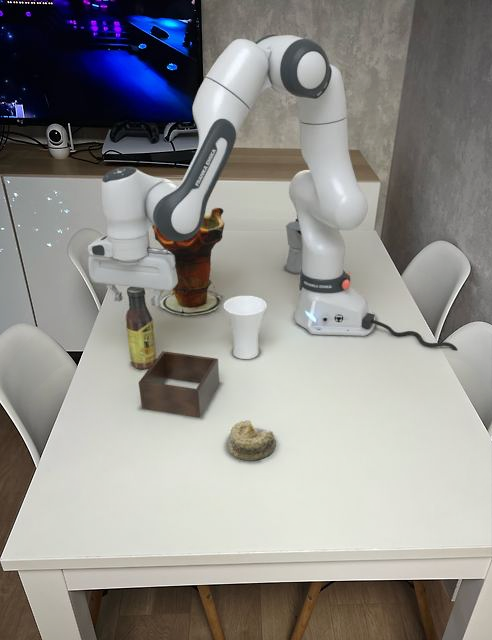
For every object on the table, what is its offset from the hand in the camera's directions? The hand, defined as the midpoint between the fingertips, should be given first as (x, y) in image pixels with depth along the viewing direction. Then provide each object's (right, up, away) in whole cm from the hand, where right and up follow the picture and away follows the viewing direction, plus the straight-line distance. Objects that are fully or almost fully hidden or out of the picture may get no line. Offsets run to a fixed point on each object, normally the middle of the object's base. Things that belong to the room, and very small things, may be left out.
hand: (137, 302), depth 142 cm
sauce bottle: (0, -14, +9) cm, 17 cm away
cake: (+27, -32, -17) cm, 45 cm away
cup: (+25, -11, +14) cm, 30 cm away
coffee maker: (+40, +19, +59) cm, 74 cm away
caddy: (+11, -22, -2) cm, 24 cm away
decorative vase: (+8, +5, +37) cm, 39 cm away
